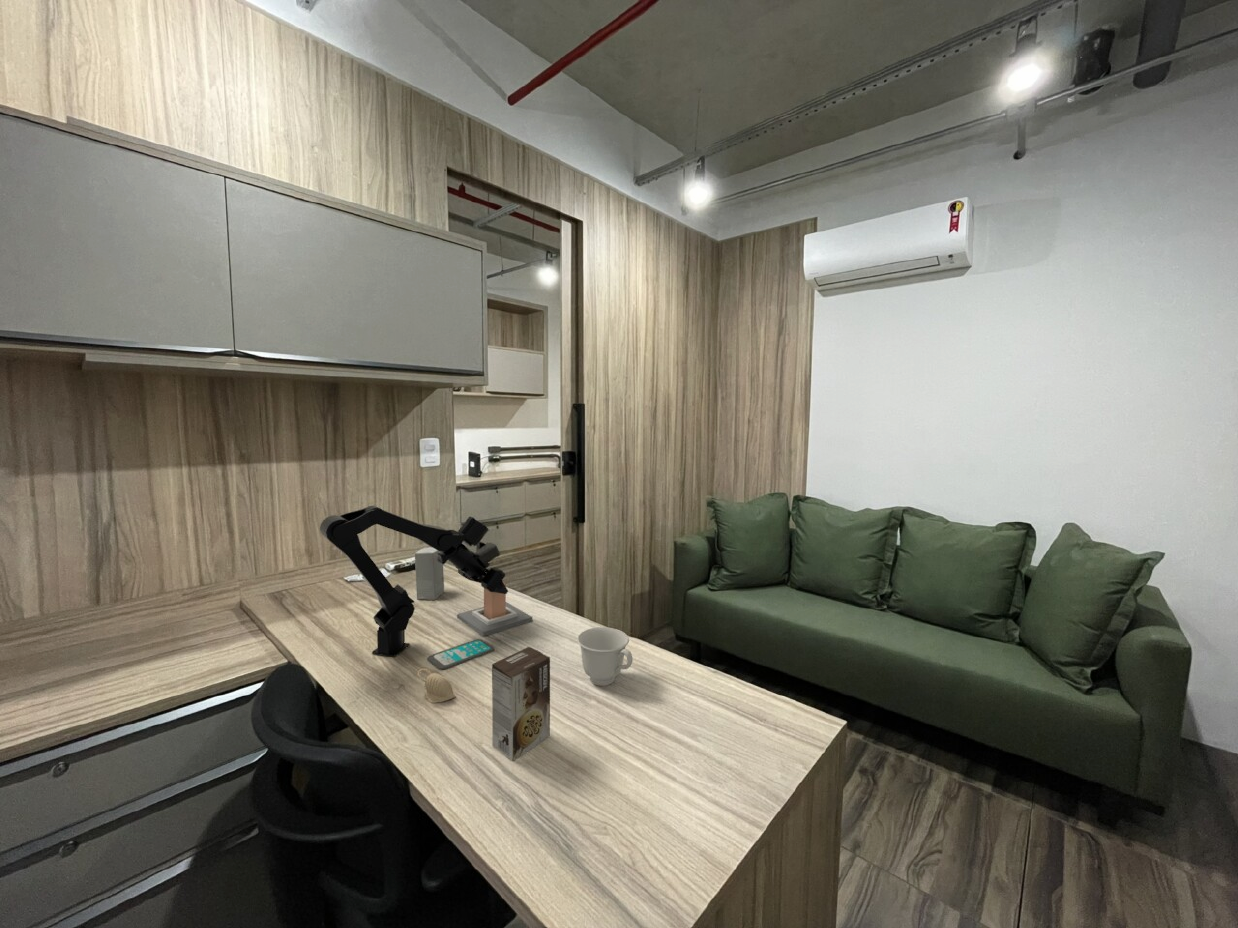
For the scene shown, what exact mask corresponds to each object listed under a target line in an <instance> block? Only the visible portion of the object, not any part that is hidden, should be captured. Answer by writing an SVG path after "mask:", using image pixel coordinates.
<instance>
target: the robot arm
mask: <svg viewBox="0 0 1238 928" xmlns="http://www.w3.org/2000/svg"><path fill="white" fill-rule="evenodd" d="M376 525H378V526H381V527H384V528H387V529H389V530H392V531H396V532H398V533H401V534H404V535H406V536H410V537H412V538H415V539H417V540H418V541H420V542H422V543H424V544H425V545H427V546H429V547H433V548H434V549H436V550H438V551H441V552H440V553H438V558H437V561H438V562H440V563H441V564H443V565H445V564H446V563H447V561H448V562H450V563H451V564H452V565H453V566H455V568H456V569H457V574H458V575H460V576H461V577H463V578H465V579H467V580H468V581H472V582H475V583H479V584H480V586H481V587H482V588H483V589H484V588H485V589H486V590H488V591H490V592H496V593H502V594H506V595H507V594H508V593H509V590H508V588H507V586H505V585H504V583H505V582H504V581H503V579H504V578H505V577H506V573H505V572H504V571H503V570H502V569H500V568H497V567H494V566H493V567H491V568H490V569H488V568H489V567H490V565H491V564H490V562H491V561H493V560H494V559H495V558H498V557H499V556H500V555H501V552H500V550H499V548H498V546H497V544H495V543H492V542H486V543H485V542H483V541H481V540H483V538H484V537H485V536H486V535H487V533H488V532H489V531H490V530H489V528H488V527H487V526H486V525H485V524H483V523H481V522H480V521H479V520H477V519H475V518H474V516H473V517H472V516H469V517H467V519H466V520H465V522H464V523H463V524H462V526H461V527H460V528H459V529H458V531H457V530H455V529H446V528H444V527H441V526H436V525H431V524H424V523H419V522H416V521H414V520H411V519H408V518H405V517H403V516H400V515H398V514H395V513H393V512H389V511H387V510H384V509H382V508H381V507H378V506H377V505H369V506H366V507H363V508H361V509H358V510H354V511H351V512H346V513H343V514H341V515H336V514H335V515H329V516H327V517H325V519H323V520H322V521H321V523H320V526H319V532H320V534H321V535H322V536H323V537H324V538H325V539H326V540H328V541H329V542H330V543H331V544H333V546H334V547H336V548H337V549H339V550H340V551H341V552H342V553H343V554H344V555H345V556H346V558H347V559H348V561H350V562H351V564H352V565H353V566H354V568H355V569H356V570H357V572H359V575H361V576H362V577H363V579H364V580H365V581H366V582H367V584H368V586H370V587H371V589H372V590H373V591H374V593H375V594H376V596H377V599H378V602H379V604H380V608H379V610H378V611H377V612H376V613H375V615H373V620H374V622H375V624H377V626H378V629H377V630H376V632H377V633H376V634H377V635H376V638H377V641H376V642H377V643H376V644H377V647H376V648H375V649H374V650H372V654H373V655H378V656H387V657H396V656H397V655H399V654H400V653H402V652H403V651H404V650H405V649H407V648H408V647H409V646H410V642H405V635H406V634H405V632H406V631H405V630H407V627H408V624H409V622H410V619H411V618H412V617H413V615H414V613H415V609H416V608H415V606H414V604H413V603H415V600H413V599H412V598H411V597H410V596H409V593H408V592H407V590H406V589H404V588H403V587H402V586H401V585H399V584H396V585H395V586H394V587H393V585H392V583H390V581H389V580H388V579H387V577H386V575H384V573H383V572H382V571H381V570H380V568H379V567H378V565H376V563H375V561H373V560H372V558H371V557H370V555H369V554H368V553H367V551H366V550H365V549H364V548H363V546H362V543H361V540H360V537H359V534H362V533H363V532H365V531H367V530H368V529H370V528H371V527H373V526H376ZM466 545H467V546H468V547H469V548H471V547H475V548H476V549H475V552H474V551H473V550H470V549H469V548H468V547H467V546H466ZM503 582H504V583H503Z"/></svg>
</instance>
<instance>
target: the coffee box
mask: <svg viewBox="0 0 1238 928" xmlns="http://www.w3.org/2000/svg"><path fill="white" fill-rule="evenodd" d="M491 677H492V678H491V682H492V683H491V684H492V685H491V693H492V694H491V696H492V699H491V700H492V702H491V705H492V706H491V707H492V709H491V710H492V711H491V714H492V716H491V717H492V718H491V720H492V721H491V722H492V737H491V738H492V747H493V748H494V749H496V750H498V751H499V752H500V753H501V754H503V755H504V756H505V757H507V759H509V760H510V761H512V762H513V761H515V760H517V759H518V758H520V757H522V756H523V755H524V754H526V753H527V752H528V751H531V750H532V749H533V748H534V747H536V746H538V744H540V743H542V742H543V741H545V740H546V739H547V738H549V737H550V736H551V657H550V656H547V655H546V654H543V652H541V651H539V650H538V649H535V648H533V647H531V646H527V647H525V648H524V649H521V650H519V651H517V652H514V653H513V654H511V655H509V656H506V657H504V658H502V659H500V660H498V661H496V662H494V663H492V664H491Z"/></svg>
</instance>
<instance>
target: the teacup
mask: <svg viewBox="0 0 1238 928" xmlns="http://www.w3.org/2000/svg"><path fill="white" fill-rule="evenodd" d="M629 642H630V639H629V636H628V635H627V634H626V633H625V632H624V631H622V630H619V629H616V628H614V627H601V626H600V627H599V626H598V627H593V628H588V629H586V630H584V631H582V632H581V633H580V634H579V635H578V636H577V643H578V644H579V646H580V650H581V651H580V653H581V662H582V667H583V670H584V673H585V674H586V675H587V676H588V677H589V680H590V682H591V683H592V684H594V685H597V686H608V685H611V684H612V683H614V681H615V677H617V676H618V675H619V674H620V673H621V671H622V670H627V669H629V668H631V666H632V665H633V661H634V660H633V654H632V652H631V651H630V650H629V649H626V648H627V647H626V646H628V644H629ZM624 656H625V657H624ZM624 658H626V664H624Z"/></svg>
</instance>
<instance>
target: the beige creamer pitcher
mask: <svg viewBox="0 0 1238 928" xmlns="http://www.w3.org/2000/svg"><path fill="white" fill-rule="evenodd" d="M421 672H426V673H427V674H428V676H427V678H424V677H422V676H421ZM417 678H418V679H419V681H422V682H424V687H425V694H424V696H425V697H426V700H427V701H428V702H430V703H433V704H436V703H442V702H447V701H448V700H450V699H451V700H452V699H453V698H456V697H457V695H456V694H455V693H454V690H453V686H452V684H451V683H450V681H449V680H448V679H447V678H446V677H444V676H443V675H441V674H438V673H434V672H433V673H432V671H430V670H429V669H427V668H420V669H419V670H418V671H417Z"/></svg>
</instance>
